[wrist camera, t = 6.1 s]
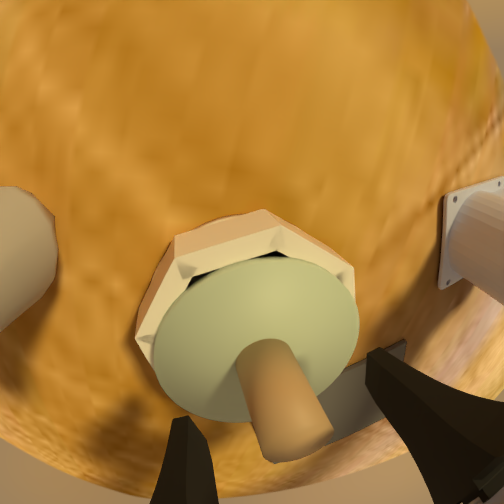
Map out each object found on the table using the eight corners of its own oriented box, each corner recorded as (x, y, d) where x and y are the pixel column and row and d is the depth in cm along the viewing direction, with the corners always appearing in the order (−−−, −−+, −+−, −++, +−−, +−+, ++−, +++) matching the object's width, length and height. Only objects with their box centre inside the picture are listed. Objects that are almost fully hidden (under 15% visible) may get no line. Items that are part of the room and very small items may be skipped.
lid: (365, 241, 13) (450, 301, 8) (340, 390, 17) (380, 454, 12) (128, 275, 11) (105, 378, 6) (179, 426, 15) (190, 506, 10)
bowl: (317, 190, 15) (348, 205, 12) (333, 339, 20) (355, 369, 17) (117, 250, 14) (104, 280, 11) (187, 388, 18) (192, 425, 15)
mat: (404, 339, 22) (406, 341, 22) (389, 411, 27) (391, 413, 27) (246, 405, 20) (247, 408, 20) (272, 461, 25) (273, 464, 25)
